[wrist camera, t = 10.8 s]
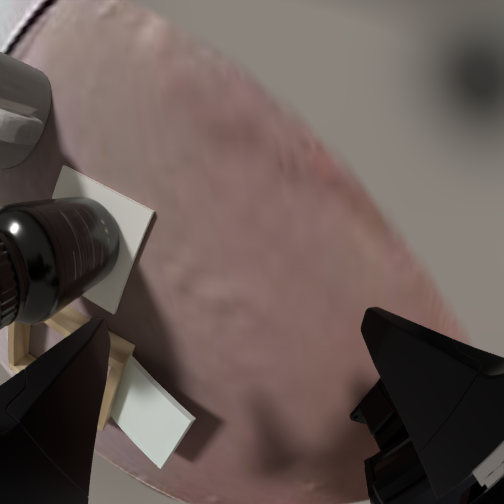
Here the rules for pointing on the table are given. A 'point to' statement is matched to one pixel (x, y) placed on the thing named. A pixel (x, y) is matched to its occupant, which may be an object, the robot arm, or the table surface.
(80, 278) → the supplement bottle
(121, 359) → the frame
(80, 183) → the felt mat
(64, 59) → the table surface
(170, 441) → the frame lid
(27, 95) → the coffee mug
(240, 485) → the table surface
